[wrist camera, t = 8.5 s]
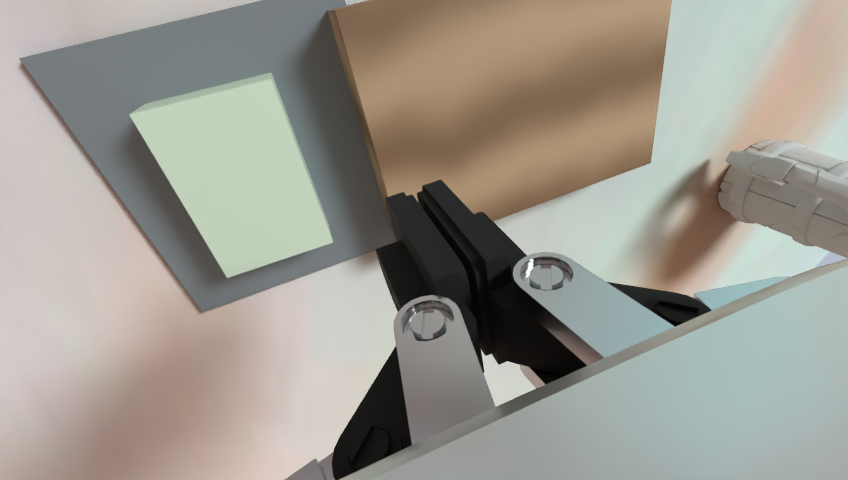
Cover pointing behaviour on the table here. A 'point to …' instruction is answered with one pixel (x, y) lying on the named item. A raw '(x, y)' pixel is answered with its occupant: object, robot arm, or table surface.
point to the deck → (503, 93)
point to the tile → (237, 171)
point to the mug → (789, 193)
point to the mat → (204, 68)
